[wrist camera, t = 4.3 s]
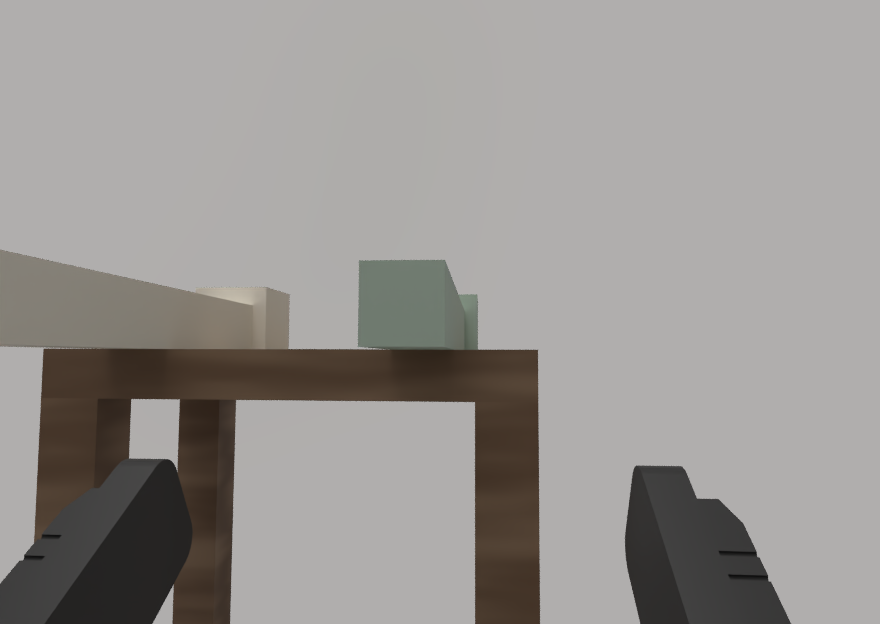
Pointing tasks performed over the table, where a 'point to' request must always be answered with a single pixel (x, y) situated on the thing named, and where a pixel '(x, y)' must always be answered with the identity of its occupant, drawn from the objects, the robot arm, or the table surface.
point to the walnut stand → (294, 378)
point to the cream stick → (131, 311)
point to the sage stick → (414, 307)
